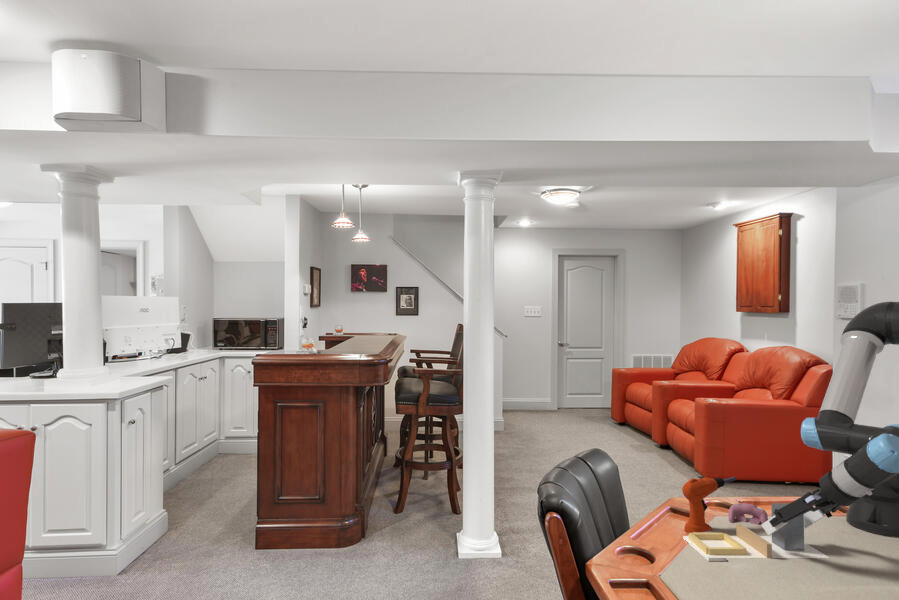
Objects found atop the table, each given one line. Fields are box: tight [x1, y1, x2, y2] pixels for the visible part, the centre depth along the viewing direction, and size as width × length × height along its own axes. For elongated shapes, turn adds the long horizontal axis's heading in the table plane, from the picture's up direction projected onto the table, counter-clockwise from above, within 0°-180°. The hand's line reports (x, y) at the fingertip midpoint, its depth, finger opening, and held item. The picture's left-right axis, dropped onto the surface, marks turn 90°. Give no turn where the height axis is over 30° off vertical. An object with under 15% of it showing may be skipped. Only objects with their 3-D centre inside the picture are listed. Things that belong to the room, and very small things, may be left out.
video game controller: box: [728, 502, 769, 530], centre depth 151 cm, size 10×5×7 cm, turn 58°
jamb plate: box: [682, 523, 830, 562], centre depth 135 cm, size 30×13×4 cm, turn 92°
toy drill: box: [681, 476, 737, 534], centre depth 148 cm, size 5×19×15 cm, turn 108°
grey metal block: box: [771, 502, 805, 551], centre depth 135 cm, size 5×5×10 cm
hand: (784, 526), depth 135 cm, fingers open, 13 cm apart
